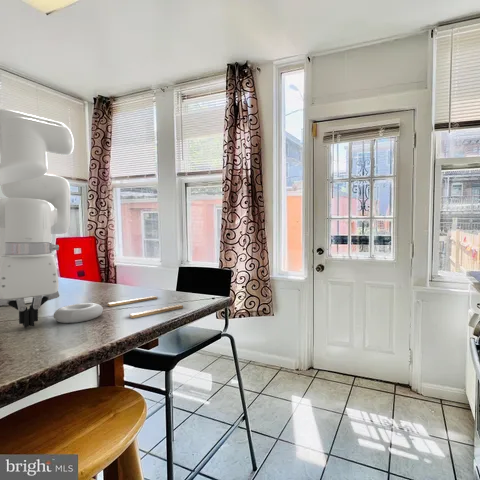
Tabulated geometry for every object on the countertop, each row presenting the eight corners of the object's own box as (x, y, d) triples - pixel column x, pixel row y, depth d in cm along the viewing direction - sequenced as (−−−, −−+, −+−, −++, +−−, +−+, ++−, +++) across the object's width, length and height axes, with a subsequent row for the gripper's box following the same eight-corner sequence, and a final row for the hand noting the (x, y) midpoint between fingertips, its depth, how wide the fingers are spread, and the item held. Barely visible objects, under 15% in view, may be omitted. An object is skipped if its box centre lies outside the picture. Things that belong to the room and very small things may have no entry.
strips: (107, 305, 86) (107, 303, 86) (154, 297, 98) (154, 295, 97) (132, 318, 74) (132, 315, 74) (182, 308, 86) (183, 305, 86)
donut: (101, 311, 80) (54, 317, 73) (101, 300, 80) (54, 304, 73) (104, 320, 73) (51, 327, 66) (104, 307, 73) (52, 313, 66)
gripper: (66, 248, 73) (66, 315, 74) (-22, 250, 61) (-22, 330, 62) (74, 249, 69) (73, 321, 69) (-21, 252, 57) (-21, 338, 57)
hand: (28, 325), depth 65 cm, fingers closed
